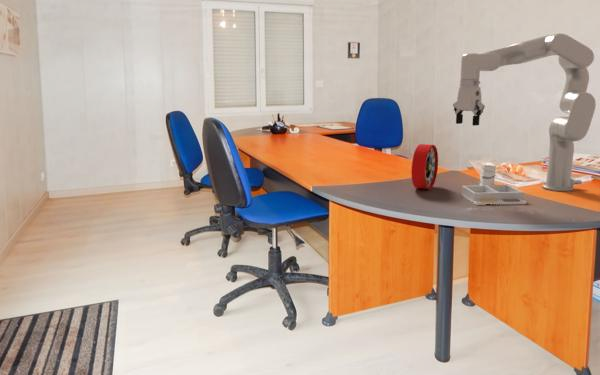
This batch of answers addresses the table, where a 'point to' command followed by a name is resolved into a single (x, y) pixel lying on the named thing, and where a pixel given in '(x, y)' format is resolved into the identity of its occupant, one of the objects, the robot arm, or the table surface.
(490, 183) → the ink box
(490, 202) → the divided tray
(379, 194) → the table surface
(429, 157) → the toy clock
